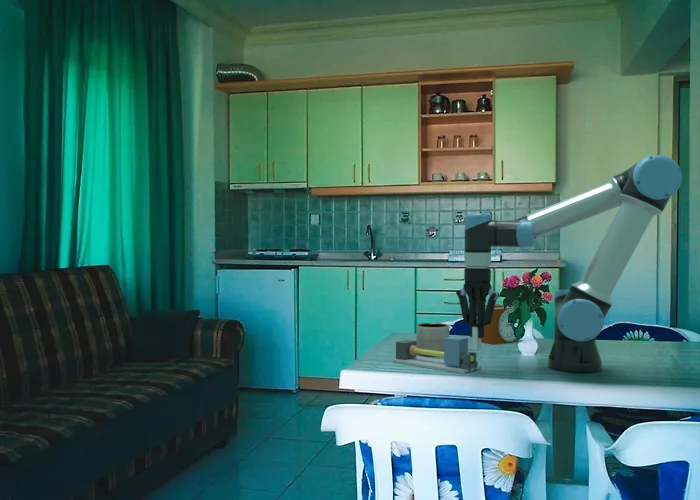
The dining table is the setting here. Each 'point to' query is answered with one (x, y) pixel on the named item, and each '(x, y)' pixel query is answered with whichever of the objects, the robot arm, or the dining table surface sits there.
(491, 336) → the alarm clock
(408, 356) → the sliding block rail
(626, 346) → the dining table surface
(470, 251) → the robot arm
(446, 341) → the sleeve
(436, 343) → the planter
